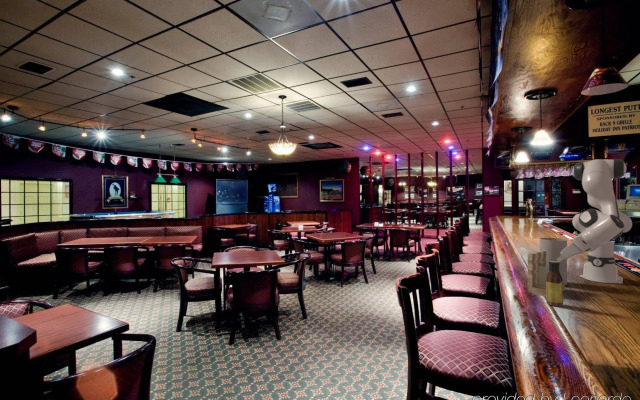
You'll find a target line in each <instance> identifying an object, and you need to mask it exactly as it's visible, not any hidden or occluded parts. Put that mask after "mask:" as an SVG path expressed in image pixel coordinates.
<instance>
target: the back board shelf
mask: <svg viewBox="0 0 640 400" xmlns="http://www.w3.org/2000/svg"><path fill="white" fill-rule="evenodd" d="M546 257H547V250H540V249H539V250H537V251H533V252H529V253H527V293H529V294H534V295H538V296H543V297H546V286H541V285H538V266H540V265H542V263H546ZM564 291H565V285H564V282H563V292H564Z"/></svg>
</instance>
